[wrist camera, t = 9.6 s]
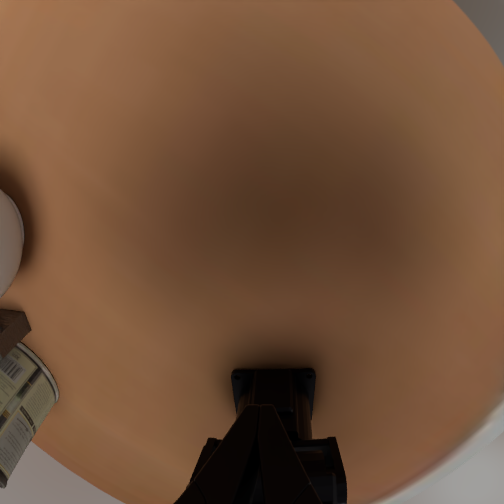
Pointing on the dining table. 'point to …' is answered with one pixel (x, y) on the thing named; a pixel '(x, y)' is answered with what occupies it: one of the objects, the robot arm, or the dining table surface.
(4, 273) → the lidded jar
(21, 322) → the box
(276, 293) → the dining table surface
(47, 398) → the coffee can
